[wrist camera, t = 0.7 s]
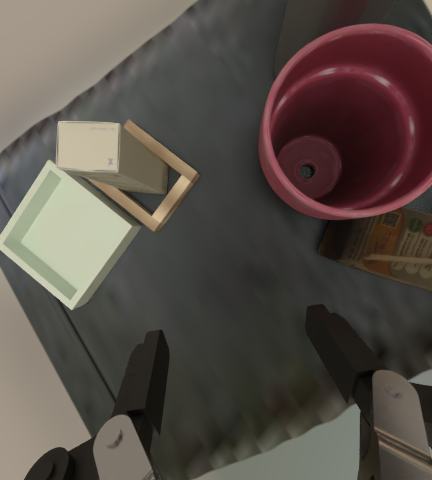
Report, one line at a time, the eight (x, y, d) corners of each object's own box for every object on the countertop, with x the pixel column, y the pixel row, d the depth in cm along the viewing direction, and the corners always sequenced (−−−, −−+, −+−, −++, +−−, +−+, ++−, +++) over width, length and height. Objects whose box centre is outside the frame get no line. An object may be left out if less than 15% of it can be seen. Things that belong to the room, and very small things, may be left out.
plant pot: (233, 148, 29) (231, 82, 16) (329, 97, 27) (413, -22, 14) (278, 240, 29) (311, 248, 16) (376, 194, 27) (502, 163, 14)
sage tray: (66, 166, 31) (48, 159, 28) (142, 226, 30) (132, 226, 27) (16, 243, 33) (-6, 244, 30) (87, 302, 32) (71, 310, 29)
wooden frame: (135, 126, 30) (128, 119, 28) (200, 176, 29) (197, 172, 27) (97, 182, 31) (88, 179, 29) (159, 231, 30) (153, 231, 28)
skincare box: (169, 165, 30) (123, 120, 17) (167, 196, 30) (120, 173, 18) (128, 162, 30) (56, 117, 18) (126, 193, 30) (53, 168, 18)
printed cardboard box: (457, 299, 27) (528, 321, 20) (312, 254, 28) (335, 262, 22) (481, 241, 26) (562, 245, 20) (331, 199, 28) (361, 190, 21)
